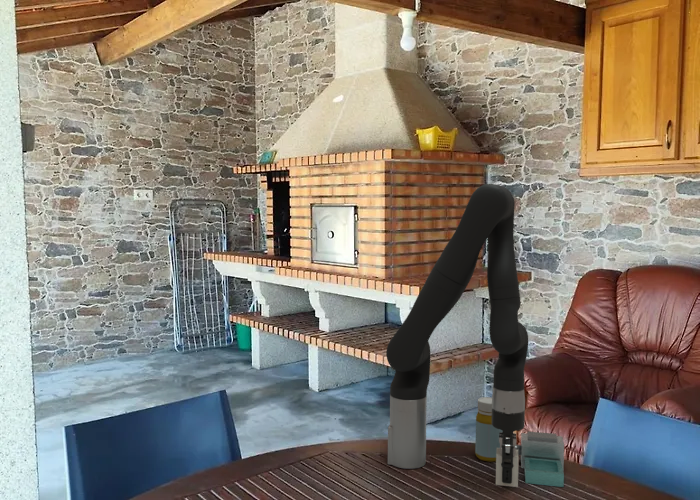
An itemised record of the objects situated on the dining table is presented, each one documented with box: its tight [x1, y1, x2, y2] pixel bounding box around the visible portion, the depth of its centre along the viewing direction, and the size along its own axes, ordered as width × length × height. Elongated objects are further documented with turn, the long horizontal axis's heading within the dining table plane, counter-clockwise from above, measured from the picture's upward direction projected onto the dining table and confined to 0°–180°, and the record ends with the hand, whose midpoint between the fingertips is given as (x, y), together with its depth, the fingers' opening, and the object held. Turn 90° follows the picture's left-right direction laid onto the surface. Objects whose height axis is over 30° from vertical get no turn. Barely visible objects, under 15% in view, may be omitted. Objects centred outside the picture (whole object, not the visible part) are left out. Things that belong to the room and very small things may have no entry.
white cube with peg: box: [495, 448, 519, 488], centre depth 147 cm, size 5×5×9 cm
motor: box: [515, 431, 565, 488], centre depth 153 cm, size 13×15×8 cm
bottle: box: [474, 396, 503, 463], centre depth 162 cm, size 7×7×15 cm
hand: (506, 477), depth 147 cm, fingers closed on white cube with peg, 5 cm apart
